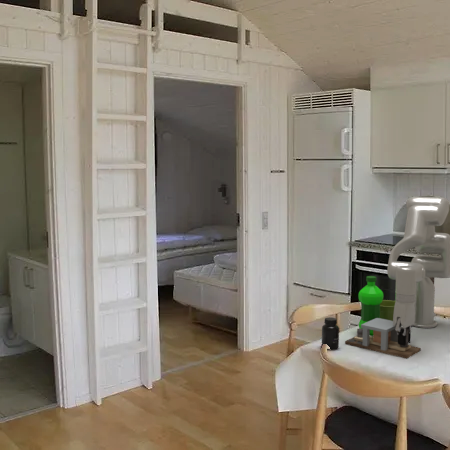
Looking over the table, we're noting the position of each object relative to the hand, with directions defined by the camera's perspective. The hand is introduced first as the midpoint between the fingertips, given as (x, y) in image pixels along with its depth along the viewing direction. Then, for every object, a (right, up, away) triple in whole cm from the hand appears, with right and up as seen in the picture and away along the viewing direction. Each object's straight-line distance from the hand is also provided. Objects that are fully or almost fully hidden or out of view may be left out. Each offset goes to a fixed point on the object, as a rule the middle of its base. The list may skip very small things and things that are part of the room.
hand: (404, 343), depth 233 cm
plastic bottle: (-7, -1, +25) cm, 26 cm away
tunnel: (-7, -2, +7) cm, 10 cm away
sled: (-7, -1, +7) cm, 10 cm away
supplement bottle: (-28, -3, +7) cm, 29 cm away
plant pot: (+2, 0, +33) cm, 34 cm away
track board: (-7, -3, +7) cm, 10 cm away
